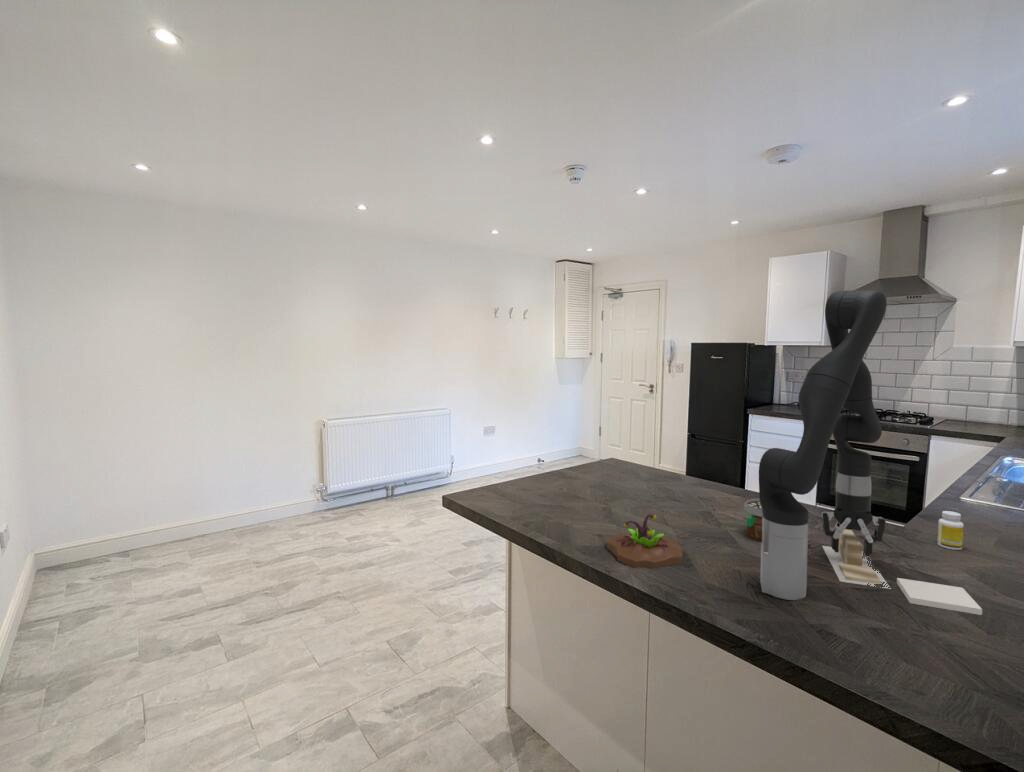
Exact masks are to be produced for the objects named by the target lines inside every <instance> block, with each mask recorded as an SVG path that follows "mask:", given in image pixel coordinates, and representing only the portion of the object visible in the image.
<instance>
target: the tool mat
mask: <svg viewBox="0 0 1024 772" xmlns="http://www.w3.org/2000/svg"><path fill="white" fill-rule="evenodd" d="M821 546H822V549H823V551H824V553H825V555H826V557H827V559H828V561H829V562H830V564H831V566H832V568H833V571H834V573H835V574H836V576H837V579H838V580H839V582H840V583H841V582H843V583H848V584H856V585H860V586H861V585H863V586H867V584H868V583H866V582H859V581H853V580H846V579H845V577H844V575H843V573H842V571H841V570H840V568H839V563H843V564H846V563H845V561H844V560H843V558H842V556H841V554H840V552H839V551H838V553H837V552H835V551H834V550H833V549H832V547H831V546H826V545H821ZM867 561H868V560H867V559H866V557H865V559H864V558H863V559H862V566H864V567H869V566H870V564H871V561H872V560H871V561H870V564H869V566H868V563H869V561H868V563H867ZM871 566H872V565H871ZM874 570H875V569H874ZM877 570H878V569H877ZM877 570H876V571H874V572H875V573H876V575H877V576H878V578H879V579H880V581H881V582H882V583H883V582H885V583H884V584H883V586H884V585H885V584H886V583H887V584H886V585H885V587H882V589H889V590H892V588H891V587H890V585H889V584H888V582H887V580H886V579H885V578H884V577H883V575H882V574H881V572H880V571H879V570H878V571H877ZM877 572H878V573H877ZM879 572H880V573H879ZM882 583H881V584H882ZM870 584H871V585H870ZM868 585H870V586H869V587H874V586H875V585H874V584H873V583H869V584H868ZM887 585H888V586H887ZM886 586H887V587H886ZM888 587H890V588H888ZM875 588H877V587H876V586H875Z"/></svg>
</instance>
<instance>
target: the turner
mask: <svg viewBox="0 0 1024 772" xmlns="http://www.w3.org/2000/svg"><path fill="white" fill-rule="evenodd" d="M838 539H839V552H840V554H841V556H842V558H843V560H844V561H845V563H846V564H843V563H839V568H840V570H841V571H842V573H843V575H844V577H845V579H846V580H853V581H859V582H866V583H873V584H881V581H880V579H879V578H878V576H877V575H876V573H875V572H874V570H873V569H872V567H864V566H862V556H863V551H864V545H863V544H862V543H861V542H860V540H859V539H858V536H856V534H855V532H853V529H845V530H844V531H843V532H842V533H841V534H840V536H839V537H838Z"/></svg>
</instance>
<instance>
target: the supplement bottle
mask: <svg viewBox="0 0 1024 772" xmlns="http://www.w3.org/2000/svg"><path fill="white" fill-rule="evenodd" d="M941 517H942V518H939V519H938V523H937V524H938V525H937V537H936V539H937V541H936V543H937V545H938V546H939V547H941V548H945V549H948V550H953V551H956V550H957V551H960V550H963V545H964V528H965V526H964V523H963V522H962V521H961V520H962V515H961V513H959V512H956V511H950V510H943V511H942V513H941Z"/></svg>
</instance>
